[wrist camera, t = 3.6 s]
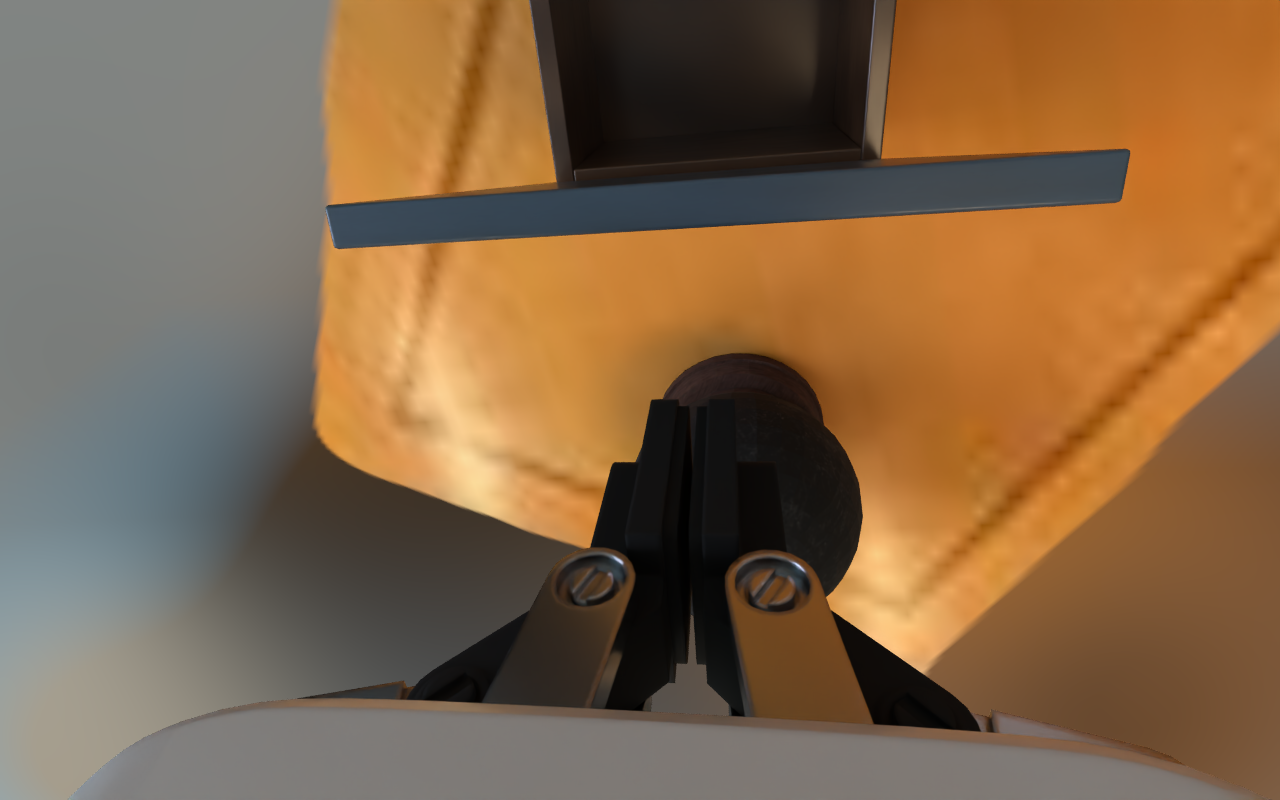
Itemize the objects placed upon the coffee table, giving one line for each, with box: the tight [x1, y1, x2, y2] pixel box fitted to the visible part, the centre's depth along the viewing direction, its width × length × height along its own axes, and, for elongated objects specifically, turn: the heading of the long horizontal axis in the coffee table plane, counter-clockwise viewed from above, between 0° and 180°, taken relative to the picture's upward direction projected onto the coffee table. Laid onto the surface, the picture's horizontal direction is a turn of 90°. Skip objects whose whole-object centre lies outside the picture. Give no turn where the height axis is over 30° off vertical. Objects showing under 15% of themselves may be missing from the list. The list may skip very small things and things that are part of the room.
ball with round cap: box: [636, 354, 863, 615], centre depth 36 cm, size 13×13×15 cm
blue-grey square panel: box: [325, 149, 1130, 249], centre depth 18 cm, size 16×14×1 cm
